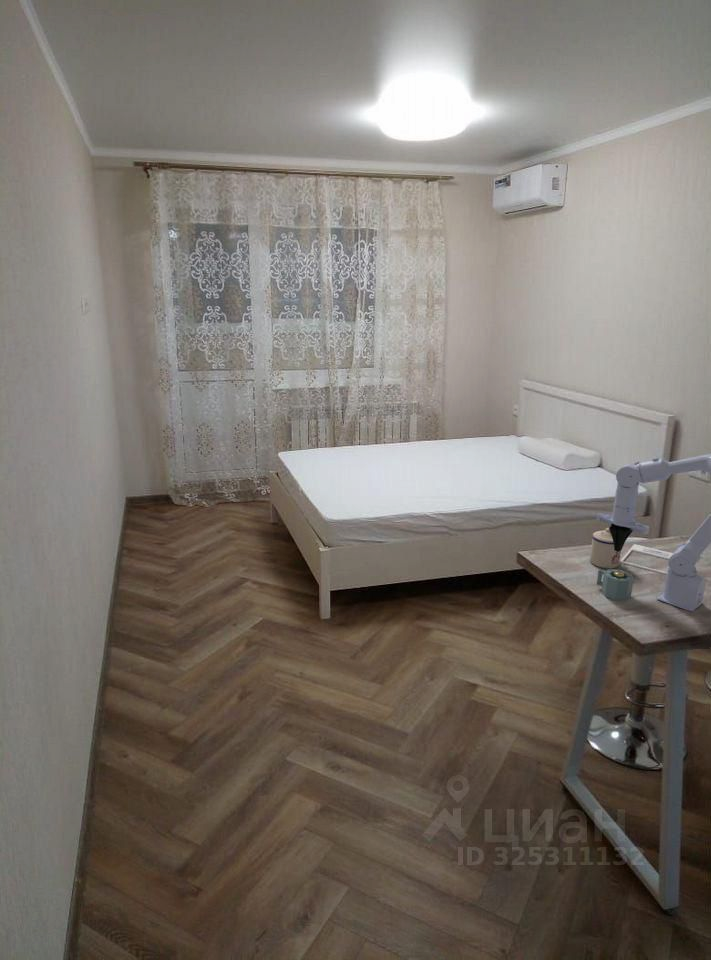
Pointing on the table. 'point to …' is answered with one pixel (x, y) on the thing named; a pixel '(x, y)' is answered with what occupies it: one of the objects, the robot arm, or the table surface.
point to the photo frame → (649, 552)
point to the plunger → (618, 574)
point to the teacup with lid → (604, 550)
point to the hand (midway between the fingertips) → (618, 550)
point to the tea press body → (615, 584)
